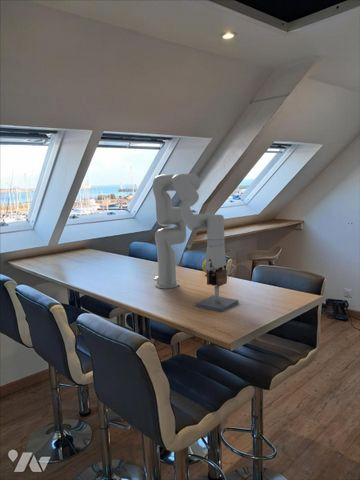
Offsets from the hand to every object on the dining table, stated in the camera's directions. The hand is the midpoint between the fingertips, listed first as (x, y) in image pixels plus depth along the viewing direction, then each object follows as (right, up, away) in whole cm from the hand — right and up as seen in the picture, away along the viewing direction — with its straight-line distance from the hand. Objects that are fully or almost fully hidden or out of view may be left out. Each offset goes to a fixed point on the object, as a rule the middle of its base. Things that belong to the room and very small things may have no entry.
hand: (216, 282), depth 165 cm
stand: (0, -11, +2) cm, 11 cm away
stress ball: (+2, -2, +59) cm, 59 cm away
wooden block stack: (0, -1, 0) cm, 1 cm away
